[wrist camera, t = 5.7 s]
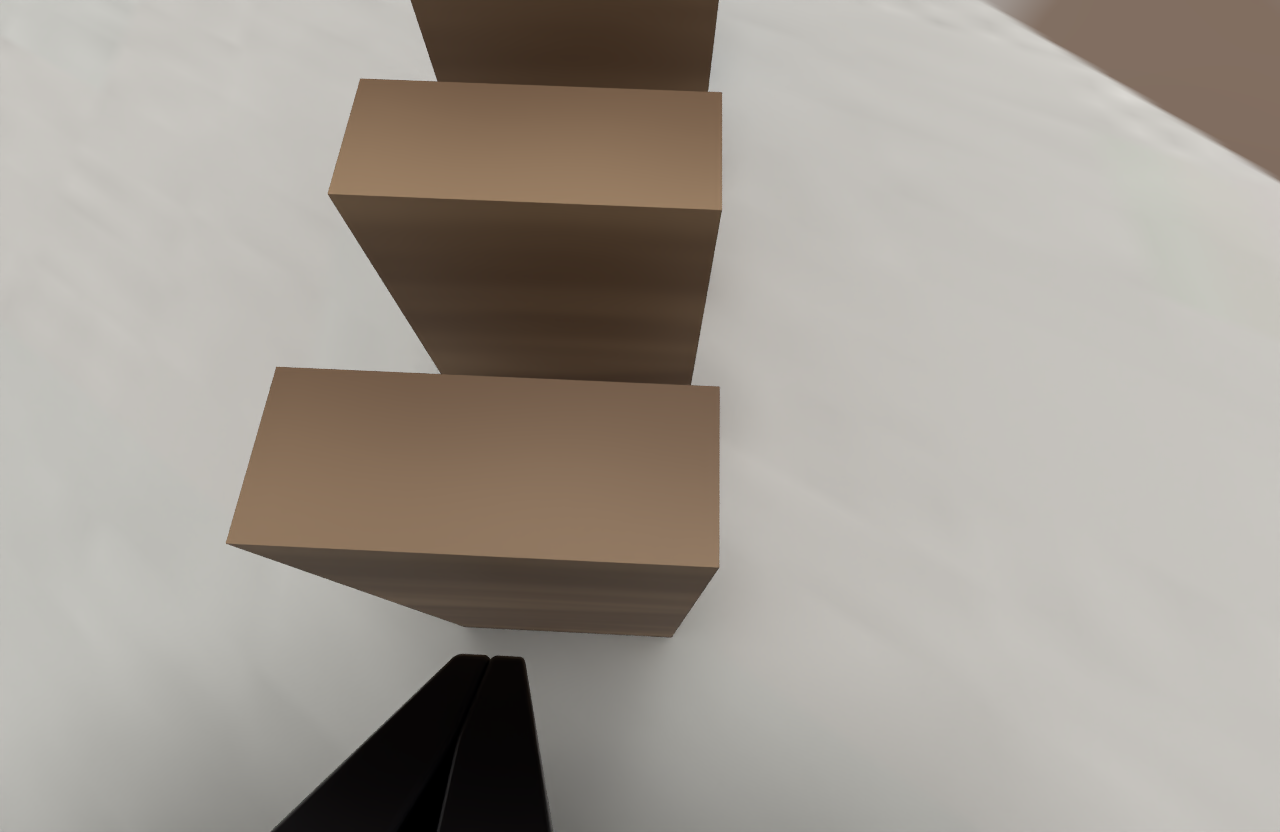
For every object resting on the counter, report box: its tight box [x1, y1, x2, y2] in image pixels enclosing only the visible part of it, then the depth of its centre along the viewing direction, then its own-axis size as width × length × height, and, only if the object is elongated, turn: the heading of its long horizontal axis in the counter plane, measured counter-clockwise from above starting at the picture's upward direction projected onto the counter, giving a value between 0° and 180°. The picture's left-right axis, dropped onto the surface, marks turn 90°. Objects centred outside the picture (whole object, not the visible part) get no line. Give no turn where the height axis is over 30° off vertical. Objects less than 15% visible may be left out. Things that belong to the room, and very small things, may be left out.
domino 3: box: [226, 367, 720, 637], centre depth 12 cm, size 2×5×10 cm, turn 87°
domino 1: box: [411, 0, 719, 92], centre depth 15 cm, size 2×5×10 cm, turn 87°
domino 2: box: [328, 79, 722, 385], centre depth 13 cm, size 2×5×10 cm, turn 87°
